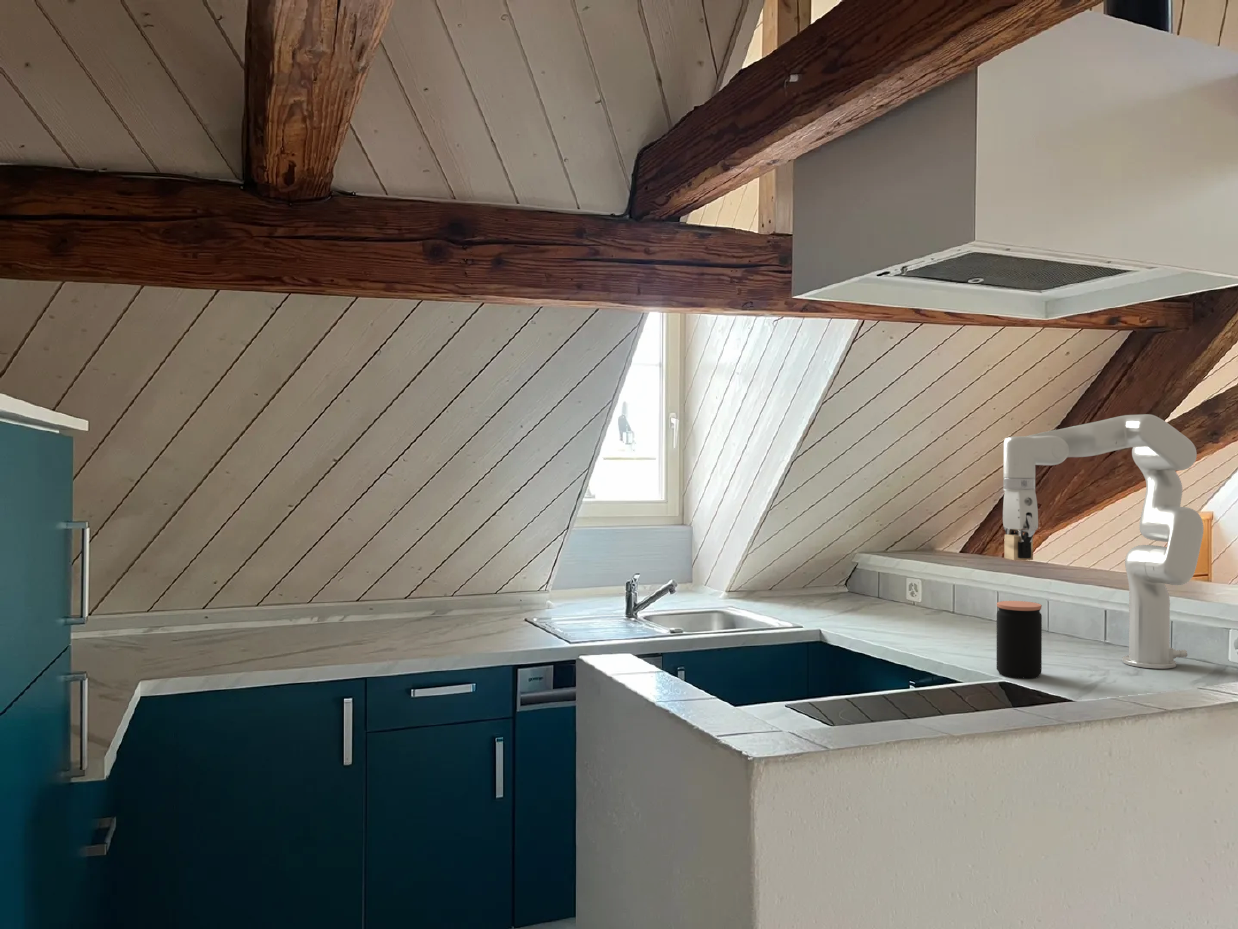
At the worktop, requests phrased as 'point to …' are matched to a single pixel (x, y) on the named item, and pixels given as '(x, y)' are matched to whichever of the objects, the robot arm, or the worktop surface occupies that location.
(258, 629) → the worktop surface
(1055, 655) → the worktop surface
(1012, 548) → the oak block
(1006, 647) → the coffee jar
